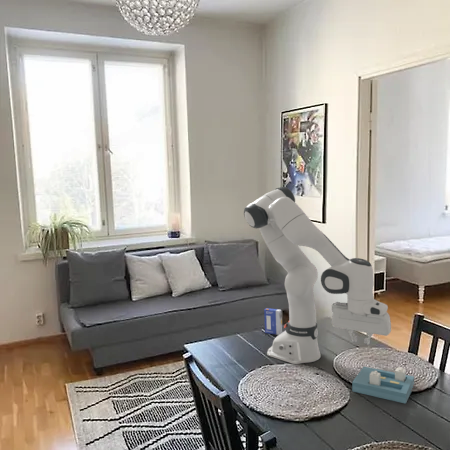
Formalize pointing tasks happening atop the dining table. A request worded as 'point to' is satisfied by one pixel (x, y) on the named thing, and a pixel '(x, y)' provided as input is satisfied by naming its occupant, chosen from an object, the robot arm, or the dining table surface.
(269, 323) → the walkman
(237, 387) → the dining table surface
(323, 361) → the dining table surface
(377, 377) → the tab near
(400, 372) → the tab far
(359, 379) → the switch bank
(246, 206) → the robot arm
